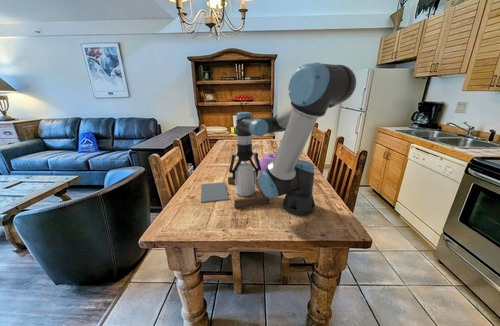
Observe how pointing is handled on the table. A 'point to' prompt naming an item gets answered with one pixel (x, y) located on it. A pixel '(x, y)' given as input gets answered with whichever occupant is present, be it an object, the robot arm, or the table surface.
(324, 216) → the table surface
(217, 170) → the table surface
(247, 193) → the coffeepot
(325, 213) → the table surface
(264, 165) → the teapot
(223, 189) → the trivet
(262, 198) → the bracket
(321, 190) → the table surface
